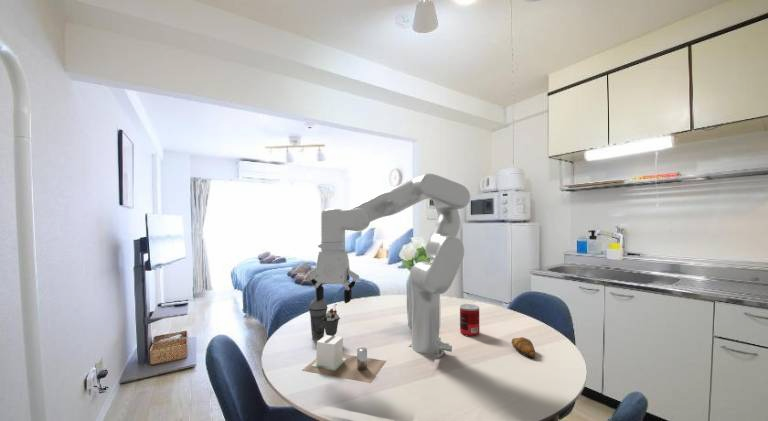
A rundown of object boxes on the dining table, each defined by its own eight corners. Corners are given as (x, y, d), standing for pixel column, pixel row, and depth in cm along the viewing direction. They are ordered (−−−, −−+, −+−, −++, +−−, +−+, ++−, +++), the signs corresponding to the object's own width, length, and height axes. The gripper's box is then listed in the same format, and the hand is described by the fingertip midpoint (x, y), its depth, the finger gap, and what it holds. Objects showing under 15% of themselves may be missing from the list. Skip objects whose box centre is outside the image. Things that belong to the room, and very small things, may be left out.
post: (368, 366, 93) (368, 348, 93) (364, 371, 90) (364, 352, 90) (359, 365, 94) (359, 347, 94) (355, 369, 91) (355, 350, 91)
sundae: (343, 343, 114) (343, 303, 115) (334, 351, 108) (335, 308, 108) (327, 341, 116) (328, 302, 117) (318, 348, 110) (318, 306, 110)
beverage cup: (325, 341, 117) (325, 288, 117) (306, 340, 117) (307, 288, 118) (328, 334, 124) (329, 284, 125) (311, 333, 124) (311, 284, 125)
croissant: (543, 359, 101) (543, 344, 102) (524, 360, 101) (523, 345, 101) (522, 343, 115) (522, 330, 115) (505, 344, 114) (505, 330, 115)
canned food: (481, 332, 127) (481, 305, 127) (476, 338, 120) (476, 310, 120) (463, 328, 131) (463, 302, 131) (457, 334, 124) (457, 307, 124)
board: (386, 365, 97) (386, 360, 97) (370, 388, 83) (370, 381, 84) (325, 355, 104) (325, 350, 104) (301, 375, 90) (301, 369, 90)
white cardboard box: (333, 367, 92) (334, 343, 92) (316, 364, 93) (316, 341, 94) (342, 359, 97) (342, 336, 97) (325, 356, 99) (326, 334, 99)
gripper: (303, 247, 97) (303, 302, 96) (353, 248, 91) (353, 306, 91) (315, 245, 104) (315, 296, 103) (362, 246, 98) (363, 299, 98)
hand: (333, 300), depth 97 cm, fingers open, 9 cm apart
